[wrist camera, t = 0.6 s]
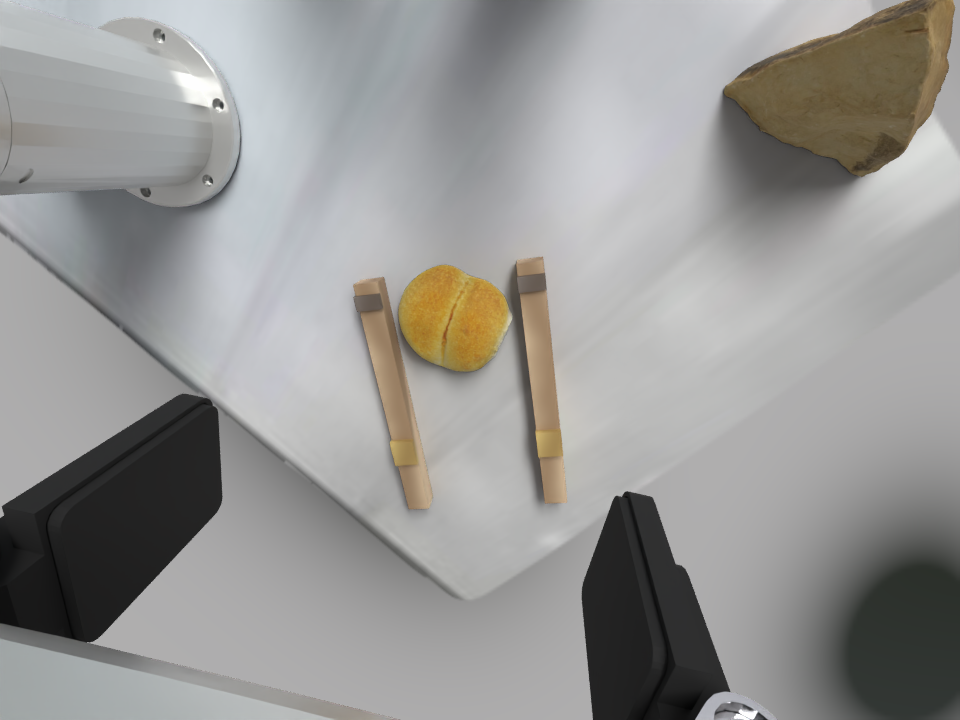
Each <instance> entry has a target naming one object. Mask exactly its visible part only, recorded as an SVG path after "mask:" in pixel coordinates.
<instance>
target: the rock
mask: <svg viewBox="0 0 960 720" xmlns="http://www.w3.org/2000/svg"><path fill="white" fill-rule="evenodd" d="M954 11H955V5H954V2H953V0H909V1H905V2H902V3H900V4H898V5H895V6H892V7H889V8H887V9H884V10H882V11H879V12H878V13H876V14H874V15H872V16H870V17H868V18H866V19H864V20H862V21H860V22H859V23H857V24H855V25H854V26H852V27H851V28H849V29H847V30H845V31H843V32H841V33H838V34H833V35H829V36H825V37H821V38H817V39H813V40H810V41H808V42H805V43H803V44H801V45H798V46H796V47H793V48H790V49H788V50H785V51H783V52H781V53H778V54H776V55H774V56H771V57H769V58H767V59H765V60H763V61H761V62H759V63H756V64H754V65H752V66H751V67H749V68H748V69H746V70H745V71H744V72H742V73H741V74H740V75H739V76H738V77H737V78H736V79H735V80H734V81H732V82H731V83H730V84H728V85H726V86H725V89H724V94H725V95H726V96H727V97H730V98H732V99H734V100H736V101H737V103H738V104H739V105H740V106H741V107H742V108H743V110H744V111H746V112H747V113H748V114H749V117H750V118H751V120H752V121H753V122H754V123H756V124H757V125H758V126H759V129H760V131H763V132H766V133H768V134H770V135H772V136H774V137H775V138H777V139H779V141H781V142H783V143H789V144H791V145H793V146H795V147H803V148H805V149H808V150H811V151H812V153H814V154H817V155H820V156H824V157H831V158H835V159H837V160H838V161H839V162H840V163H841V164H842V165H843V166H844V167H845V168H847V170H848V171H849V172H851V173H852V174H854V175H858V176H860V177H863V176H865V175H866V174H869V173H872V172H876V171H878V170H879V169H880V168H882V167H883V166H884V165H885V164H888V163H889V162H890V161H892V160H894V159H896V158H898V157H899V156H900V155H901V154H902V153H904V151H905V150H906V149H907V147H908V145H909V143H910V141H911V140H912V138H913V136H914V134H915V133H916V131H917V129H918V128H919V127H921V126H922V125H923V124H924V122H925V121H926V120H927V119H928V118H929V116H930V115H931V113H932V110H933V107H934V103H935V100H936V97H937V94H938V93H939V92H940V90H941V86H942V84H943V82H944V80H945V77H946V74H947V73H948V69H949V64H948V60H947V53H948V50H949V47H950V43H951V34H952V24H953V15H954Z"/></svg>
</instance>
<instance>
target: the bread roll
mask: <svg viewBox="0 0 960 720" xmlns="http://www.w3.org/2000/svg"><path fill="white" fill-rule="evenodd" d="M398 316H399V323H400V327H401V330H402V333H403V335H404V337H405V339H406V340H407V342H408V343H409V345H410V346H411V347H412V348H413V350H414V351H415V352H416V353H417V354H418V355H419V356H420V357H422V358H424V359H425V360H427V361H429V362H431V363H434V364H437V365H440V366H443V367H446V368H448V369H451V370H455V371H466V372H469V371H475V370H478V369H480V368H482V367H483V366H484V365H485V364H487V362H489V361H490V360H491V359H492V358H494V357H495V355H496V353H497V351H498V349H499V347H500V345H501V343H502V341H503V338H504V336H505V335H506V333H507V330H508V326H509V324H510V323H511V320H512V314H511V312H510V310H509V308H508V304H507V301H506V299H505V297H504V296H503V294H502V293H501V292H500V291H499V290H498V289H497V288H496V287H495V286H493V285H492V284H491V283H489V282H488V281H486V280H483V279H479V278H476V277H472V276H470V275H468V274H465V273H464V272H463V271H461V270H459V269H457V268H455V267H453V266H449V265H439V266H436V267H433V268H430V269H428V270H426V271H424V272H423V273H421V274H420V275H418V276H417V277H416V278H415V279H414V280H413V281H412V282H411V283H410V284H409V285H408V286H407V287H406V289H405V290H404V293H403V295H402V297H401V301H400V304H399V309H398Z"/></svg>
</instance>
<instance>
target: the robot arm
mask: <svg viewBox="0 0 960 720" xmlns="http://www.w3.org/2000/svg"><path fill="white" fill-rule="evenodd" d="M223 104H224V108H223ZM239 148H240V127H239V118H238V114H237V110H236V106H235V102H234V99H233V97H232V94H231V92H230V90H229V87H228V85H227V82H226V81H225V79H224V77H223V76H222V74H221V73H220V71H219V69H218V68H217V66H216V65H215V63H214V62H213V61H212V60H211V59H210V57H209V56H208V55H207V54H206V53H205V51H204V50H203V49H201V48H200V47H199V46H198V45H197V44H196V43H195V42H193V41H192V40H191V39H190V38H189V37H187V36H185V35H184V34H182V33H181V32H179V31H177V30H176V29H174V28H172V27H169V26H167V25H164V24H162V23H159V22H156V21H153V20H149V19H145V18H141V17H124V18H119V19H115V20H111V21H109V22H107V23H105V24H104V25H102V26H100V27H98V28H94V27H91V26H88V25H85V24H81V23H78V22H75V21H72V20H69V19H65V18H62V17H59V16H56V15H53V14H49V13H46V12H43V11H40V10H37V9H33V8H30V7H27V6H24V5H20V4H17V3H14V2H11V1H8V0H0V195H16V194H35V193H54V192H73V191H92V190H110V189H125V190H126V191H128V192H129V193H131V194H133V195H135V196H136V197H138V198H140V199H142V200H144V201H147V202H150V203H152V204H155V205H159V206H166V207H185V206H191V205H197V204H200V203H202V202H205V201H207V200H209V199H211V198H212V197H213V196H215V195H216V194H217V193H219V192H220V191H221V190H222V189H223V187H224V186H225V185H226V184H227V182H228V181H229V179H230V177H231V175H232V173H233V171H234V169H235V167H236V163H237V159H238V155H239ZM218 422H219V421H218V410H217V408H216V407H214V406H213V405H212V402H211V400H209V399H207V398H203V397H198V396H194V395H189V394H181V395H178V396H176V397H175V398H173V399H172V400H170V401H169V402H167V403H165V404H164V405H162V406H161V407H159V408H157V409H156V410H154V411H153V412H151V413H149V414H148V415H146V416H145V417H143V418H142V419H140V420H139V421H137V422H135V423H134V424H132V425H130V426H129V427H127V428H126V429H124V430H122V431H121V432H119V433H118V434H116V435H115V436H113V437H111V438H110V439H108V440H106V441H105V442H103V443H102V444H100V445H99V446H97V447H96V448H94V449H92V450H91V451H89V452H87V453H86V454H84V455H83V456H81V457H80V458H78V459H76V460H75V461H73V462H72V463H70V464H68V465H67V466H65V467H64V468H62V469H60V470H59V471H57V472H56V473H54V474H52V475H51V476H49V477H48V478H46V479H44V480H43V481H41V482H40V483H38V484H37V485H35V486H33V487H32V488H30V489H29V490H27V491H26V492H24V493H22V494H21V495H19V496H18V497H16V498H15V499H13V500H11V501H9V502H8V503H6V504H5V505H3V506H2V509H3V512H4V516H3V517H1V518H0V720H399V719H395V718H391V717H387V716H383V715H379V714H375V713H371V712H368V711H363V710H360V709H356V708H352V707H348V706H344V705H340V704H336V703H332V702H328V701H323V700H320V699H315V698H311V697H307V696H303V695H299V694H295V693H291V692H287V691H283V690H279V689H275V688H271V687H267V686H263V685H259V684H255V683H251V682H246V681H242V680H239V679H235V678H230V677H226V676H222V675H218V674H214V673H210V672H206V671H202V670H197V669H194V668H190V667H186V666H181V665H177V664H173V663H169V662H164V661H161V660H156V659H152V658H148V657H144V656H140V655H136V654H131V653H127V652H123V651H118V650H115V649H111V648H107V647H102V646H98V645H94V644H90V643H87V642H93V641H95V640H96V639H98V638H99V637H100V636H101V635H102V634H103V633H104V632H105V631H106V630H107V629H108V628H109V627H110V626H111V625H112V624H113V622H114V621H115V620H116V619H117V618H118V617H119V616H120V615H121V614H122V613H123V612H124V611H125V610H126V609H127V608H128V607H129V605H130V604H131V603H132V602H133V601H134V600H135V599H136V598H137V597H138V596H139V595H140V594H141V593H142V592H143V591H144V589H145V588H146V587H147V586H148V585H149V584H150V583H151V582H152V581H153V580H154V579H155V578H156V577H157V576H158V575H159V574H160V572H161V571H162V570H163V569H164V568H165V567H166V566H167V565H168V564H169V563H170V562H171V561H172V560H173V559H174V558H175V556H176V555H177V554H178V553H179V552H180V551H181V550H182V549H183V548H184V547H185V546H186V545H187V544H188V543H189V542H190V541H191V539H192V538H193V537H194V536H195V535H196V534H197V533H198V532H199V531H200V530H201V529H202V528H203V527H204V525H205V524H207V522H208V521H209V520H210V519H211V518H212V517H213V516H214V515H215V514H216V513H217V511H218V509H219V507H220V505H221V502H222V482H221V461H220V441H219V423H218ZM582 606H583V617H584V627H585V638H586V649H587V659H588V671H589V681H590V691H591V703H592V713H593V720H777V719H776V718H775V717H774V716H773V715H772V714H771V713H770V712H769V711H768V710H767V709H765V708H764V707H762V706H761V705H760V704H758V703H757V702H755V701H754V700H752V699H750V698H747V697H745V696H743V695H740V694H738V693H732V692H730V689H729V687H728V684H727V681H726V678H725V675H724V673H723V670H722V667H721V664H720V662H719V659H718V656H717V653H716V651H715V648H714V645H713V642H712V640H711V637H710V634H709V631H708V628H707V626H706V623H705V620H704V617H703V614H702V612H701V609H700V606H699V603H698V601H697V598H696V595H695V592H694V589H693V587H692V584H691V581H690V578H689V576H688V574H687V572H686V570H685V569H684V568H683V567H682V566H680V565H676V564H675V561H674V558H673V556H672V553H671V549H670V547H669V543H668V540H667V537H666V534H665V531H664V529H663V526H662V523H661V520H660V517H659V514H658V511H657V508H656V505H655V502H654V500H653V498H652V497H650V496H646V495H641V494H637V493H632V492H628V491H627V492H625V493H624V494H623V496H622V497H620V496H615V498H614V499H613V502H612V504H611V507H610V510H609V513H608V515H607V518H606V521H605V524H604V527H603V530H602V532H601V535H600V538H599V540H598V543H597V546H596V549H595V552H594V554H593V557H592V560H591V562H590V565H589V568H588V571H587V574H586V576H585V579H584V582H583V587H582Z"/></svg>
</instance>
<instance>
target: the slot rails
mask: <svg viewBox="0 0 960 720" xmlns="http://www.w3.org/2000/svg"><path fill="white" fill-rule="evenodd" d="M516 267H517V275H518V276H517V284H518V292H519V293H520V300H521V308H522V317H523V325H524V333H525V342H526V350H527V358H528V366H529V375H530V383H531V391H532V400H533V408H534V416H535V425H536V441H537V450H538V458H540V466H541V474H542V483H543V491H544V499H545V504H546V503H567V494H566V484H565V473H564V463H563V450H562V440H561V430H560V423H559V413H558V403H557V393H556V383H555V373H554V363H553V353H552V343H551V333H550V323H549V312H548V302H547V292H546V290H547V289H546V279H545V272H544V262H543V257H537V258H529V259H521V260H517V263H516ZM353 287H354V291H355V295H356V296H355V297H353V298H354V302H355V306H356V310H357V312H360V315H361V319H362V323H363V327H364V331H365V335H366V339H367V343H368V347H369V351H370V355H371V359H372V363H373V367H374V371H375V375H376V379H377V383H378V387H379V391H380V395H381V399H382V403H383V407H384V411H385V415H386V419H387V423H388V427H389V431H390V435H391V439H392V440H391V442H390V447H391V451H392V455H393V459H394V463H395V466H398V467H399V471H400V475H401V479H402V483H403V487H404V491H405V495H406V499H407V503H408V507H409V509H429V507H430V504H431V501H432V498H433V494H432V490H431V485H430V481H429V476H428V472H427V467H426V463H425V458H424V454H423V449H422V445H421V440H420V436H419V431H418V427H417V423H416V418H415V414H414V409H413V405H412V400H411V396H410V391H409V387H408V382H407V378H406V373H405V369H404V364H403V360H402V355H401V351H400V347H399V342H398V338H397V333H396V329H395V324H394V320H393V315H392V311H391V306H390V302H389V297H388V293H387V288H386V284H385V280H384V277H381V278H373V279H366V280H360V281H359V282H357V283H356V284H354V285H353Z"/></svg>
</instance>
